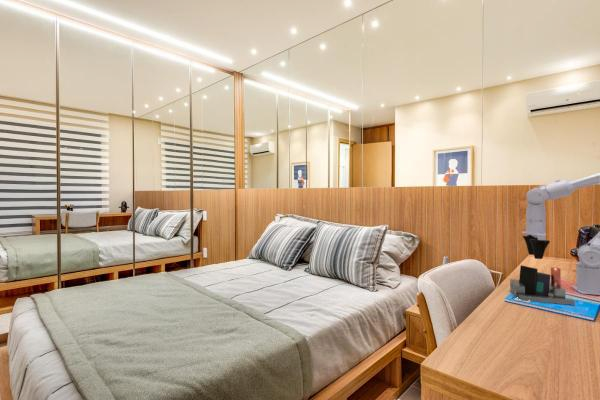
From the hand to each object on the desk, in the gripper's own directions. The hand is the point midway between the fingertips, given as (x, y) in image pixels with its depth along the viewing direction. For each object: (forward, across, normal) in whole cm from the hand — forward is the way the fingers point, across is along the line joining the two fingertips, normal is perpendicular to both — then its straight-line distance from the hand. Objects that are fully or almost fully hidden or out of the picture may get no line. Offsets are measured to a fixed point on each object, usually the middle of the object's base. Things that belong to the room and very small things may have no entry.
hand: (535, 256), depth 113 cm
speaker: (+11, +16, -4) cm, 20 cm away
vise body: (+10, +16, -2) cm, 19 cm away
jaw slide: (+10, +16, +2) cm, 19 cm away
